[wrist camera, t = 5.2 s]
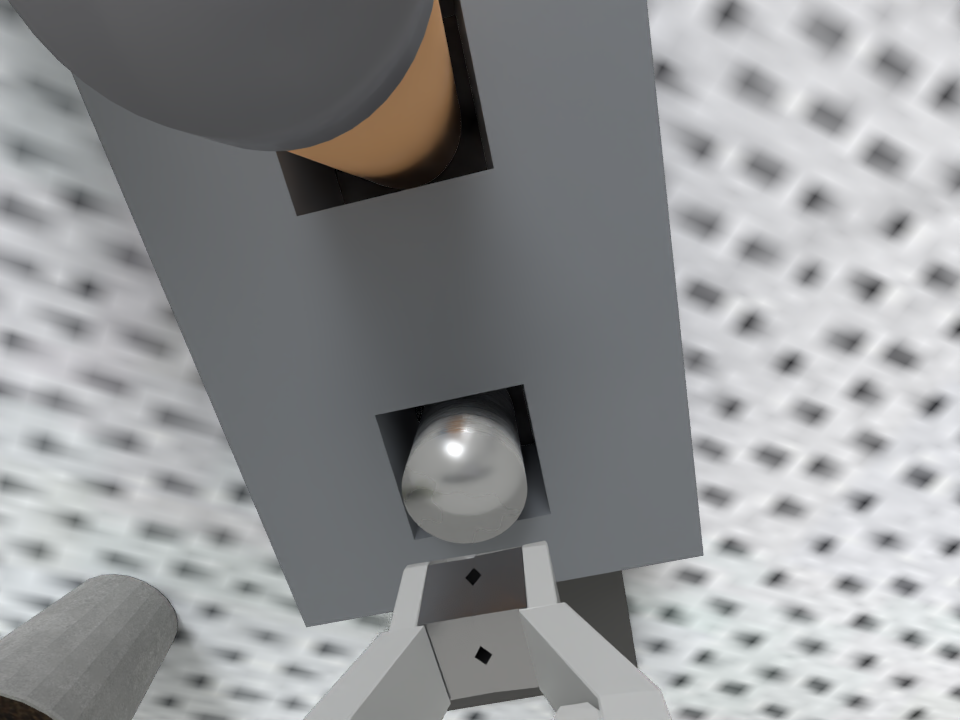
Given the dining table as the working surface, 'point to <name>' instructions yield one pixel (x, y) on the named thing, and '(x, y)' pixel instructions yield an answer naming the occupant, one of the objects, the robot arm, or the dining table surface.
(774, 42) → the dining table surface
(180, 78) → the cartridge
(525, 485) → the plunger
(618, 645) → the mat
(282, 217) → the housing
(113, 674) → the house plant
